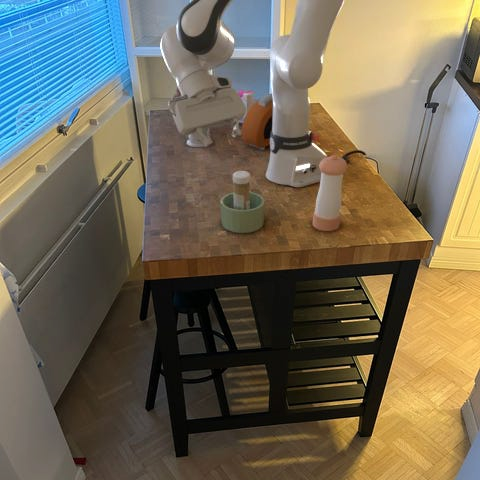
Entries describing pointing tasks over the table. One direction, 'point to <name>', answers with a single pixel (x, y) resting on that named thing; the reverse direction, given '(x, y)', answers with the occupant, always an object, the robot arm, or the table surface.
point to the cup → (242, 214)
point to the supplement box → (246, 101)
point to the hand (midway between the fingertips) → (223, 140)
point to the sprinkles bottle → (241, 190)
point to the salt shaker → (329, 194)
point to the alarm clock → (259, 123)
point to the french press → (195, 141)
